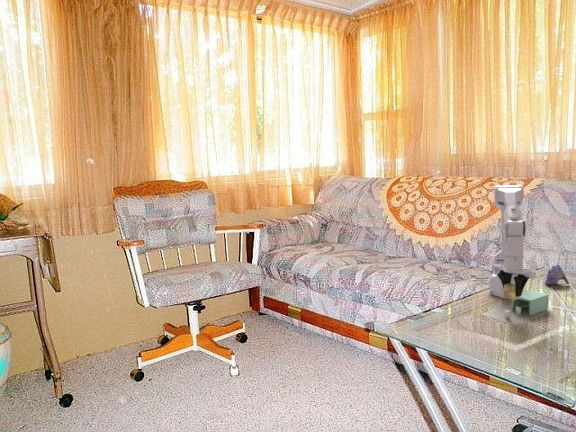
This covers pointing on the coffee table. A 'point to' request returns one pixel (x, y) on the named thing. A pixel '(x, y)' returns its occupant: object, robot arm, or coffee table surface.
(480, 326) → the coffee table surface
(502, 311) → the base
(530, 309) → the block
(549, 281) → the flower
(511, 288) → the brown block
